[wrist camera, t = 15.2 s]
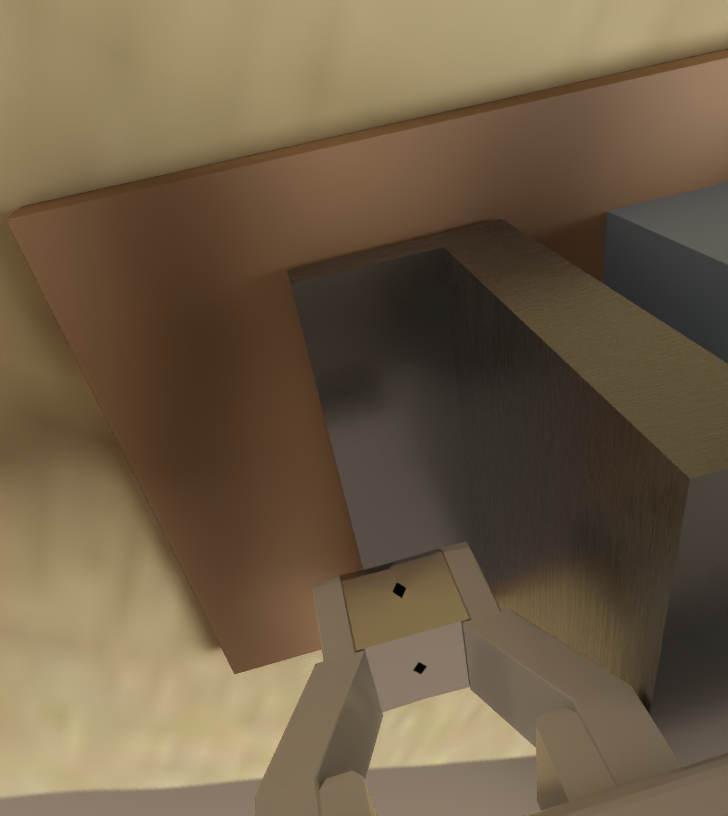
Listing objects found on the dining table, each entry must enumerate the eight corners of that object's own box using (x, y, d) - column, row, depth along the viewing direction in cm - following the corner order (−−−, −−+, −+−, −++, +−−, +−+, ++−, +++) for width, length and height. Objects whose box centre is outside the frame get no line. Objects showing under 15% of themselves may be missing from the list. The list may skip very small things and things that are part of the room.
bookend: (501, 218, 12) (841, 437, 5) (516, 554, 18) (695, 868, 11) (286, 270, 12) (367, 568, 5) (370, 596, 17) (461, 946, 11)
